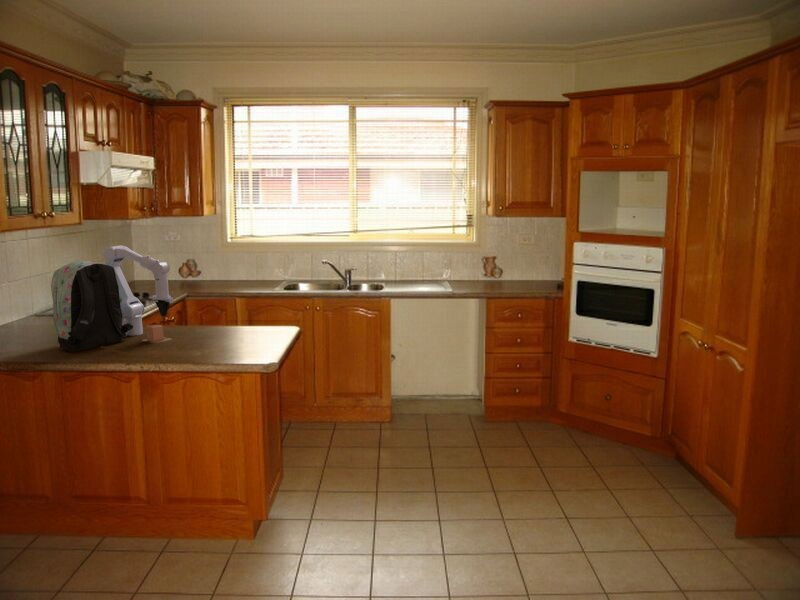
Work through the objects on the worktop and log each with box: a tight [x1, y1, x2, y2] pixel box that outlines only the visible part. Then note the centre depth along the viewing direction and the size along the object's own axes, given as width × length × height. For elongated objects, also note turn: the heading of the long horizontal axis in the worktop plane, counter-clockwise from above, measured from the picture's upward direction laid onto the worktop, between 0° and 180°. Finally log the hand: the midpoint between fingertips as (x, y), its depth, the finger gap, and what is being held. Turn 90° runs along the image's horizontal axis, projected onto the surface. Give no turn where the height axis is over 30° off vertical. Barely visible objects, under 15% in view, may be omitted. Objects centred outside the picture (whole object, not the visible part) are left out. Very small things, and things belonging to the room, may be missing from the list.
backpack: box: [50, 259, 133, 353], centre depth 297 cm, size 32×24×39 cm
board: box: [141, 336, 173, 344], centre depth 307 cm, size 10×10×1 cm
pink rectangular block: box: [145, 324, 165, 342], centre depth 305 cm, size 5×5×7 cm
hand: (163, 316), depth 313 cm, fingers closed
